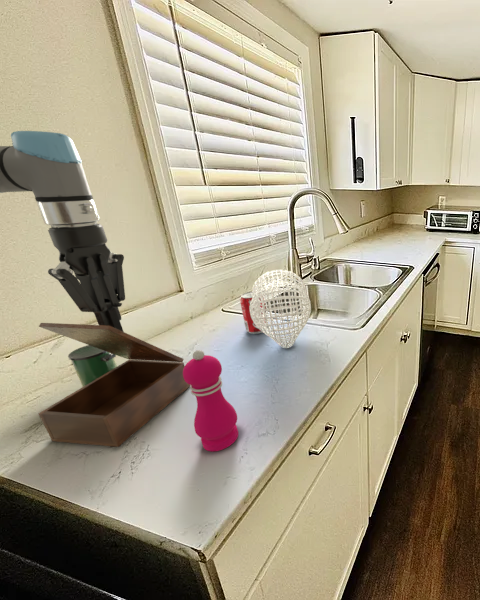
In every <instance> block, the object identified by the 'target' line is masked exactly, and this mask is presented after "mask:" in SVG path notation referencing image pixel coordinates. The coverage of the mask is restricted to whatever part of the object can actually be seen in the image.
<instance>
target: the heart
mask: <svg viewBox="0 0 480 600" xmlns="http://www.w3.org/2000/svg"><path fill="white" fill-rule="evenodd" d="M281 288H282V289H281ZM285 288H286V289H285ZM269 290H270V291H269ZM265 291H266V292H265ZM251 292H252V297H253V298H252V300H251V302H250V315H251V318H252V320H253V322H254V324H255V325H256V326H257V328H259V329H260V330H261V331H262V332H263V334H264V335H266V336H268V337H269V338H270V339H272V340H273V341H274V342H275V343H276V344H277V345H279V346H280V347H281V348H283V349H289V348H291V347H293V346H294V344H295V343H296V340H298V337H299V336H300V334H301V332H302V331H303V330H304V328H305V326H306V325H307V323H308V321H309V319H310V317H311V312H312V304H311V303H312V302H311V300H310V297H309V295H308V293H307V287H306V285H305V282H304V280H303V279H302V278H301V277H300V276H299V275H298V274H297V273H295V272H293V271H291V270H287V269H272V270H269V271H266V272H264V273H263V274H261V275H260V276H259V277H258V278H257V279H256V280H255V281H254V283H253V286H252V288H251ZM282 293H283V295H282ZM286 293H287V295H286ZM297 293H298V295H297ZM258 295H259V296H258ZM270 295H271V297H270ZM263 297H264V299H263ZM259 298H261V301H260V300H259ZM283 300H284V301H283ZM287 300H288V301H287ZM275 301H276V302H275ZM264 302H265V305H264ZM271 302H272V303H271ZM260 303H262V304H260ZM287 304H288V305H287ZM260 305H261V306H262V308H261V307H260ZM257 306H258V307H257ZM257 308H258V309H257ZM265 308H266V309H265ZM260 309H261V310H260ZM253 310H254V311H253ZM284 310H285V312H284ZM288 310H289V311H288ZM260 311H261V312H262V313H263V314H262V313H261V312H260ZM265 311H266V312H265ZM266 313H267V314H266ZM254 315H255V316H254ZM261 315H262V316H263V317H262V316H261ZM264 315H265V316H264ZM266 315H267V317H266ZM289 319H290V321H289ZM256 320H257V321H256ZM285 320H286V321H285ZM260 321H261V322H260ZM264 321H265V322H266V323H265V322H264ZM275 321H276V322H275ZM263 323H264V324H263ZM286 325H287V326H286ZM266 327H267V328H268V329H267V328H266Z"/></svg>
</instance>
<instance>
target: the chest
mask: <svg viewBox="0 0 480 600" xmlns="http://www.w3.org/2000/svg"><path fill="white" fill-rule="evenodd" d="M184 366H185V363H184V361H183V362H169V361H150V360H132V359H126V360H125V361H124V362H122V363H121V364H119V365H117V367H116V368H114V369H112V370H111V371H109V372H107V373H106V374H104V375H102V376H101V377H99V378H97V379H96V380H94V381H92V382H90V383H89V384H87V385H85V386H84V387H82V386H81V387H80V388H79V389H77V390H75V391H74V392H72V393H70V394H68V395H67V396H66V397H64V398H62V399H60V400H58V401H57V402H55V403H53V404H52V405H50V406H49V407H47V408H45V409H43V410H41V411H39V412H38V417H39V418H40V420H41V422H42V424H43V426H44V428H45V430H46V432H47V434H48V436H49V438H50V440H51V441H52V442H58V443H69V444H70V443H71V444H78V445H79V444H81V445H92V446H102V447H115V448H119V447H120V446H121V445H123V443H125V442H126V441H127V440H128V439H130V438H131V437H132V436H133V435H134V434H135V433H137V432H138V431H140V429H141V428H142V427H144V426H146V424H147V423H149V422H150V421H151V420H152V419H153V418H155V416H157V415H159V413H160V412H161V411H162V410H164V409H165V408H167V407H168V406H169V405H170V404H171V403H172V402H173V401H174V400H176V399H177V398H179V396H180V395H182V394H183V393H184V392H185V391H186V390H187V389H189V388H190V385H189V384H188V383H186V382H185V380H184V378H183V369H184Z"/></svg>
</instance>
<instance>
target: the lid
mask: <svg viewBox="0 0 480 600" xmlns="http://www.w3.org/2000/svg"><path fill="white" fill-rule="evenodd" d="M38 327H39V328H41V329H45V330H47V331H49V332H53V333H55V334H58V335H60V336H63V337H66V338H68V339H72V340H74V341H78V342H80V343H82V344H85V345H90V346H93V347H96V348H98V349H101V350H104V351H107V352H109V353H112V354H115V355H116V357H117V356H118V357H121V358H123V359H125V360H147V361H165V362H184V358H182V357H180V356H178V355H176V354H173V353H171V352H169V351H166V350H165V349H162V348H160V347H158V346H155V345H153V344H151V343H149V342H148V341H144V340H143V339H140V338H139V337H136V336H133V335H131V334H129V333H127V332H125V331H124V330H123V331H124V332H123V331H120V330H118V329H116V328H114V327H111V326H106V325H98V324H81V323H59V322H58V323H56V322H54V323H53V322H40V323H39V325H38Z"/></svg>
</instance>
